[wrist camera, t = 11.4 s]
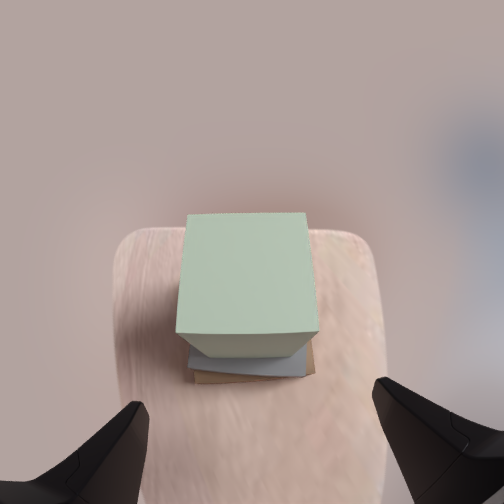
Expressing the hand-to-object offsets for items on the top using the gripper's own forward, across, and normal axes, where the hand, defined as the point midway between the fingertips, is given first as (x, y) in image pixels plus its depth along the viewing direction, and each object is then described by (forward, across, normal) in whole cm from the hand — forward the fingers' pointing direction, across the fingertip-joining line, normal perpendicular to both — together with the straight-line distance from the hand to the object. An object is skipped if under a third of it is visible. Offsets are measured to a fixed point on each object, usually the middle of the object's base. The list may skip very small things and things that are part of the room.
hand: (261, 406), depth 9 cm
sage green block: (+10, 0, +2) cm, 10 cm away
